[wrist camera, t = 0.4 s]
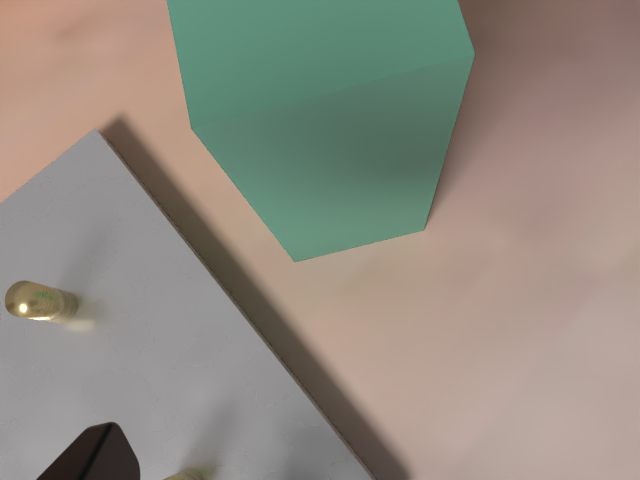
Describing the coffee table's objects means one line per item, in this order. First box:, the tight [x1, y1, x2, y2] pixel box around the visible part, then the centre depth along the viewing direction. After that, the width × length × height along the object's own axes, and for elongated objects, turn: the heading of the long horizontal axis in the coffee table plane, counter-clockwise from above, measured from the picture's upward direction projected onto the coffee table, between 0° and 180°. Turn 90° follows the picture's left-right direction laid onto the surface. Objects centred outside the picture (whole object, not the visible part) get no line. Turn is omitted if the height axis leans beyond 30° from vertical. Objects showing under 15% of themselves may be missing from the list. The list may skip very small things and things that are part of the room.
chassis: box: [0, 129, 377, 480], centre depth 20 cm, size 18×18×4 cm
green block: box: [167, 0, 475, 262], centre depth 17 cm, size 5×5×12 cm
